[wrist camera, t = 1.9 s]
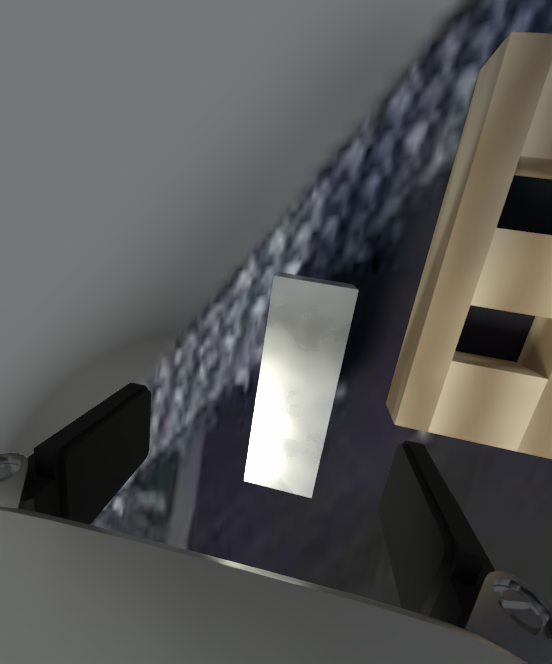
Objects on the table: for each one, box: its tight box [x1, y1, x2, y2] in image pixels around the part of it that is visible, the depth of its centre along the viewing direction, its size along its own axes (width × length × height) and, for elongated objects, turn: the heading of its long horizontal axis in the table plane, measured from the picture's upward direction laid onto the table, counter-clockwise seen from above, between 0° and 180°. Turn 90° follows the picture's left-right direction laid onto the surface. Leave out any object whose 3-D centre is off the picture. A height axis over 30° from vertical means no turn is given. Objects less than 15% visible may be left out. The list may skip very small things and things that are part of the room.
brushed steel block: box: [244, 273, 359, 498], centre depth 19 cm, size 4×12×8 cm, turn 171°
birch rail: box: [386, 31, 552, 459], centre depth 18 cm, size 10×22×3 cm, turn 171°
